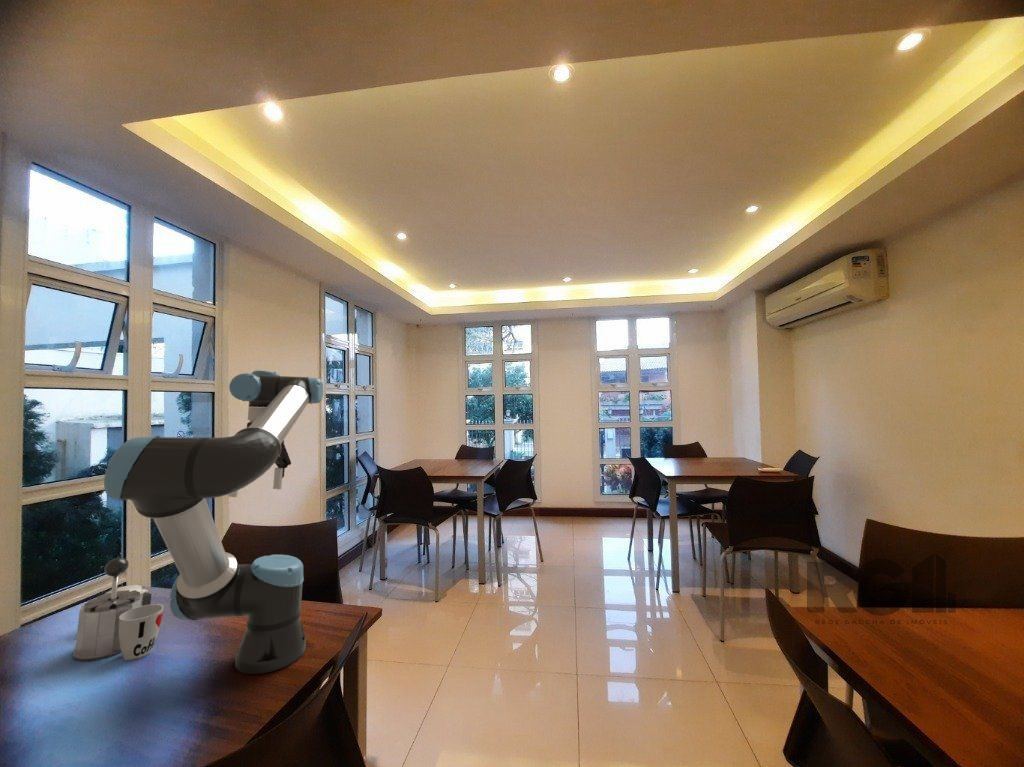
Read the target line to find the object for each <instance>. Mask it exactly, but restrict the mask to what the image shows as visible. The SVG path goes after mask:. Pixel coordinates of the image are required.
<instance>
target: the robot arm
mask: <svg viewBox="0 0 1024 767" xmlns="http://www.w3.org/2000/svg"><path fill="white" fill-rule="evenodd" d="M228 387H229V389H228V390H229V392H230V394H231V395H232V396H233V397H234V399H237V400H239V401H242V402H248V408H247V409H248V412H247V420H248V422H247V423H246V427H245V428H243V429H241V430H238V431H237V432H236V433H235V434H234V435H231V436H224V437H223V436H222V437H206V436H205V437H203V436H202V437H197V436H196V437H195V436H194V437H192V436H191V437H190V436H188V437H187V436H185V437H179V436H177V437H176V436H175V437H174V436H173V437H171V436H170V437H169V436H167V437H166V436H165V437H163V436H162V437H161V436H160V435H152V436H137V437H134V438H130V439H128V440H127V441H125V442H124V443H123V444H121V445H120V446H119V447H118V448H117V449H116V450H115V452H114V453H113V455H111V458H110V460H109V462H108V464H107V467H106V470H105V474H104V478H103V487H104V491H105V493H106V495H107V496H108V497H109V498H110V499H111V500H118V501H119V502H123V501H126V500H129V501H131V502H132V503H133V505H134V507H135V509H136V511H137V513H138V514H139V515H140V516H142V517H144V518H147V519H151V520H152V519H153V521H154V523H155V525H156V527H157V529H158V531H159V534H160V535H161V538H162V540H163V542H164V544H165V546H166V547H167V550H168V552H169V554H170V556H171V558H172V560H173V562H174V565H175V566H176V568H177V570H178V572H179V575H178V576H177V577H176V578H175V581H174V582H173V584H172V587H171V589H170V590H171V591H170V594H169V595H170V596H169V599H171V600H170V603H169V607H170V611H171V613H172V615H173V616H174V617H176V618H177V619H179V620H184V621H200V620H208V619H209V620H210V619H222V618H224V619H225V618H233V617H246V618H247V622H246V628H245V632H244V634H243V636H242V640H241V642H240V644H239V647H238V649H237V650H236V654H235V661H234V662H235V663H234V665H235V666H234V667H235V669H236V670H237V671H238V672H239V673H242V674H248V675H259V674H266V673H271V672H274V671H277V670H280V669H283V668H285V667H287V666H289V665H291V664H293V663H295V661H297V660H298V659H299V658H300V657H302V655H303V654H304V652H305V651H306V645H307V644H306V642H307V639H306V638H307V637H306V634H305V630H304V627H303V624H302V620H301V608H302V599H303V598H302V597H303V582H304V581H305V578H304V564H303V562H302V561H301V560H300V559H299V558H298V557H296V556H292V555H290V554H270V555H263V556H260V557H258V558H256V559H254V561H252V563H251V564H250V563H247V564H239V563H238V561H237V558H236V557H235V555H233V554H231V553H230V552H226V550H225V548H224V546H223V543H222V540H221V538H220V535H219V532H218V529H217V526H216V523H215V521H214V518H213V516H212V512H211V510H210V507H209V504H208V502H207V499H213V498H220V497H225V496H227V497H231V498H237V497H238V492H239V490H241V489H244V488H245V487H247V486H249V485H250V484H252V483H254V482H255V481H256V480H258V479H259V478H260V477H262V476H263V475H264V474H265V473H266V472H268V471H269V470H270V469H271V468H272V466H273V465H274V464H275V465H276V466H277V467H274V472H273V486H272V489H274V490H282V486H283V485H282V484H283V478H284V477H285V470H286V468H288V466H291V464H292V461H291V459H290V456H289V453H288V450H287V448H286V445H285V439H286V438H287V436H288V434H289V433H290V431H291V430H292V428H293V427H294V425H295V424H296V422H297V421H298V419H299V417H300V416H301V415H302V413H303V411H304V410H305V409H306V407H307V405H308V404H310V405H313V404H319V403H321V401H322V400H323V396H324V384H323V381H322V379H320V378H318V377H310V376H287V375H286V376H285V375H284V376H283V375H280V373H278V372H276V371H271V370H258V369H256V370H254V371H253V372H251V373H248V372H247V373H244V372H243V373H240V374H237V375H235V376H234V377H233V378H232V379H231V380H230V382H229V385H228Z"/></svg>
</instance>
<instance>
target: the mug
mask: <svg viewBox="0 0 1024 767" xmlns="http://www.w3.org/2000/svg"><path fill="white" fill-rule="evenodd" d="M125 590H130V591H133V590H136V591H138V592H140V593H141V594H143V593H146V592H147V593H149V590H148V589H145V588H143V587H142V585H140V584H131V585H125V586H119V587H117V591H125ZM111 591H112V589H110V590H108V591H107V592H105V593H104V594H108V593H111ZM130 591H129V592H130Z"/></svg>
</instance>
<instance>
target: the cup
mask: <svg viewBox="0 0 1024 767" xmlns="http://www.w3.org/2000/svg"><path fill="white" fill-rule="evenodd" d="M164 607H165V606H164V605H163V604H157V603H156V604H155V603H154V604H150V605H145V606H140V607H137V608H133V609H131V610H128V611H126V612H124V613H123V614H121V615H120V617H119V641H120V649H121V654H122V658H123V659H124V660H125V661H133V660H137V659H140V658H142V657H146V656H147V655H149V654H150V653H151V652H152V650H153V648H154V646H155V643H156V642H157V638H158V635H159V632H160V628H161V624H162V619H163V614H164V613H163V612H164Z"/></svg>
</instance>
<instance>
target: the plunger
mask: <svg viewBox="0 0 1024 767" xmlns="http://www.w3.org/2000/svg"><path fill="white" fill-rule="evenodd" d="M129 565H130V564H129V560H128V559H127V558H124V557H115V558H113V559H111V560H109V561H108V562H107V563H106V564H105V567H104V573H105V575H107V576H109V577H112V583H111V584H112V585H111V590H112V591H111V600H110V601H112V600H116V594H117V588H118V585H119V576H121V575H123V574H124V573H125V572H127V570H128V568H129ZM111 609H115V607H112V608H111Z"/></svg>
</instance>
